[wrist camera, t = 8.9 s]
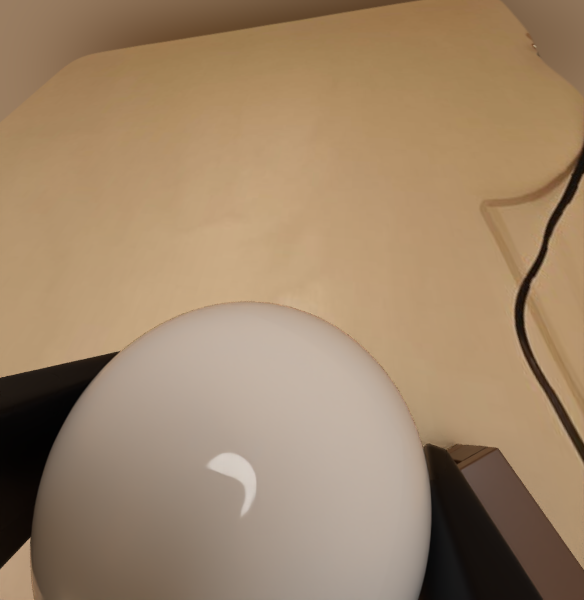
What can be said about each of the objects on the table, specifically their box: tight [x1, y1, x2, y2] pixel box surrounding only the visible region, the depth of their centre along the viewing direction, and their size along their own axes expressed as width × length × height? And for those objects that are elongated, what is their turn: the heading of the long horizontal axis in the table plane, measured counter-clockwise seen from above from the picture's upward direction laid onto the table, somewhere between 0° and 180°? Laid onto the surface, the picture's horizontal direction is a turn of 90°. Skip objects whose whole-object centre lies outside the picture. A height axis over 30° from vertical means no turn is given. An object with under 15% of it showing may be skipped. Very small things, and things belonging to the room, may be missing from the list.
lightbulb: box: [30, 301, 432, 600], centre depth 8 cm, size 6×6×11 cm
